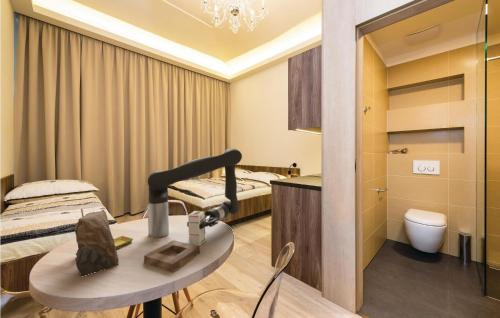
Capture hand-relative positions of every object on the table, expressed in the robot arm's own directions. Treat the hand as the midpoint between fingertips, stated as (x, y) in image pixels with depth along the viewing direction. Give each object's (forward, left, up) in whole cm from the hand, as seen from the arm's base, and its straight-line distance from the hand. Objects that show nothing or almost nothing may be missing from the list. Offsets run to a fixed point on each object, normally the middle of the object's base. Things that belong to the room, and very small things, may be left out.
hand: (193, 225), depth 95 cm
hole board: (0, -13, -9) cm, 16 cm away
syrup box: (0, +2, -9) cm, 9 cm away
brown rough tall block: (-21, -29, -9) cm, 37 cm away
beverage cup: (-36, -26, -9) cm, 45 cm away
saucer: (-33, -14, -10) cm, 37 cm away
